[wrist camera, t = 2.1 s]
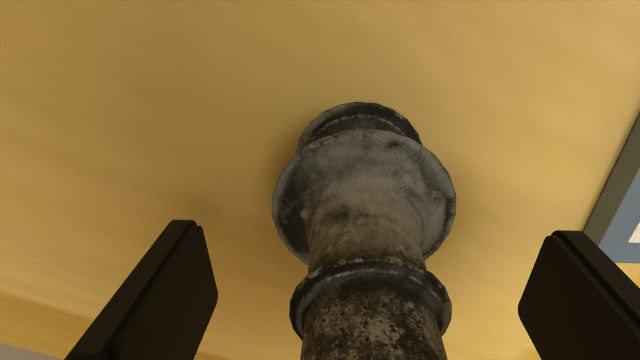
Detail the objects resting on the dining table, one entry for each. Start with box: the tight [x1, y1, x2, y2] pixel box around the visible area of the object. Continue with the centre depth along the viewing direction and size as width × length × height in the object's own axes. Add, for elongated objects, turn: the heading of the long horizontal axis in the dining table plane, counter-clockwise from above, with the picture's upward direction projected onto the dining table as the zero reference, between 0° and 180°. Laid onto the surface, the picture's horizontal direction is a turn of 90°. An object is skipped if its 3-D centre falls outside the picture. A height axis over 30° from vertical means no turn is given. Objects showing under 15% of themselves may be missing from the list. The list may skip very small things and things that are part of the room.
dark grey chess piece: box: [272, 102, 456, 360], centre depth 9 cm, size 6×6×12 cm
